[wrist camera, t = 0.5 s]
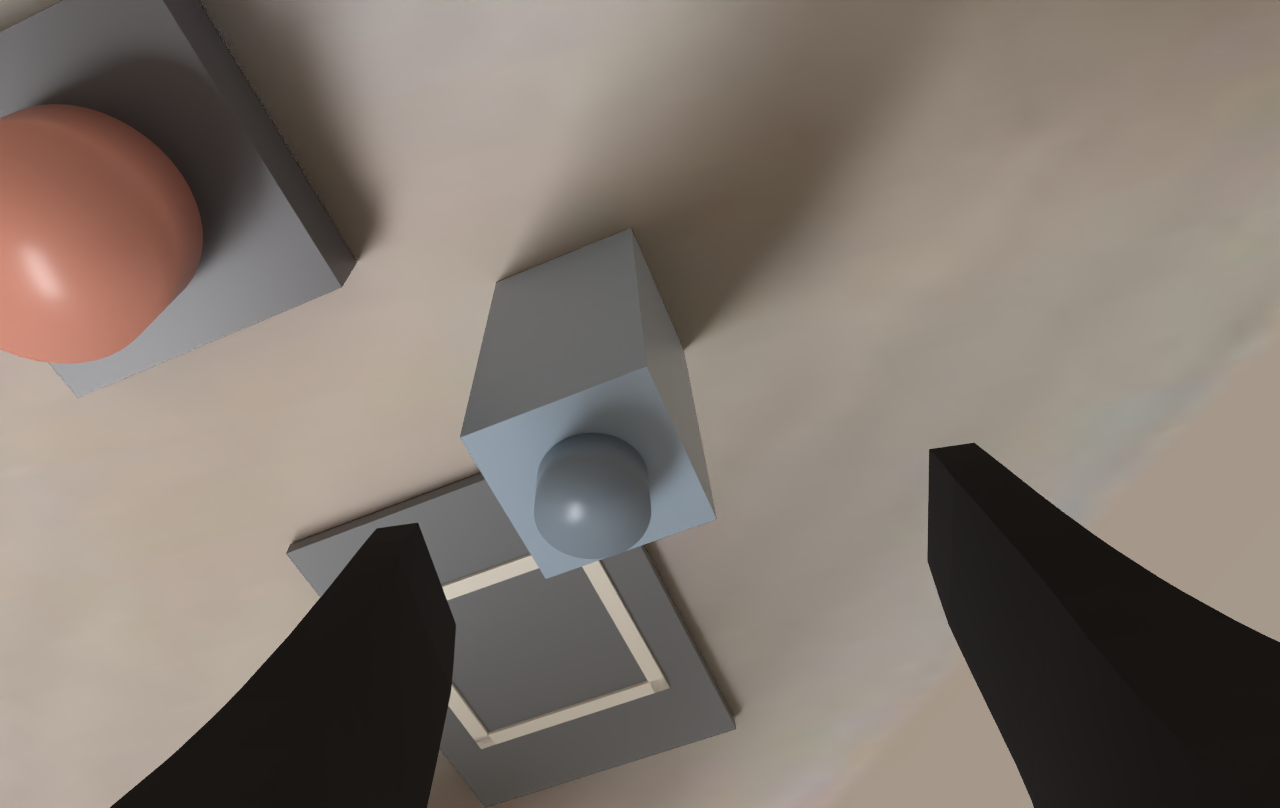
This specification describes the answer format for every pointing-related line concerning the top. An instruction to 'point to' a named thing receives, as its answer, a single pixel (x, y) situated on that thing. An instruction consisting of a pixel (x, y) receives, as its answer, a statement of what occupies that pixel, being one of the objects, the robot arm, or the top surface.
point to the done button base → (184, 163)
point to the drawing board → (543, 648)
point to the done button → (87, 233)
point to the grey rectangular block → (587, 409)
